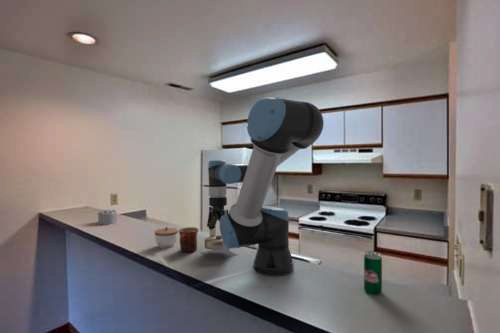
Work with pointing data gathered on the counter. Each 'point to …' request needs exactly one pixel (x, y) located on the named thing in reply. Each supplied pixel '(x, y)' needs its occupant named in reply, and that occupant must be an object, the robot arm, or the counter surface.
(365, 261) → the soda can
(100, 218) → the lumpy-topped squat cylinder
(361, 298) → the counter surface
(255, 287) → the counter surface
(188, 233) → the mug
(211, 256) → the mat
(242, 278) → the counter surface
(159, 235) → the lidded jar
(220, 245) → the lid
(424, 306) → the counter surface
